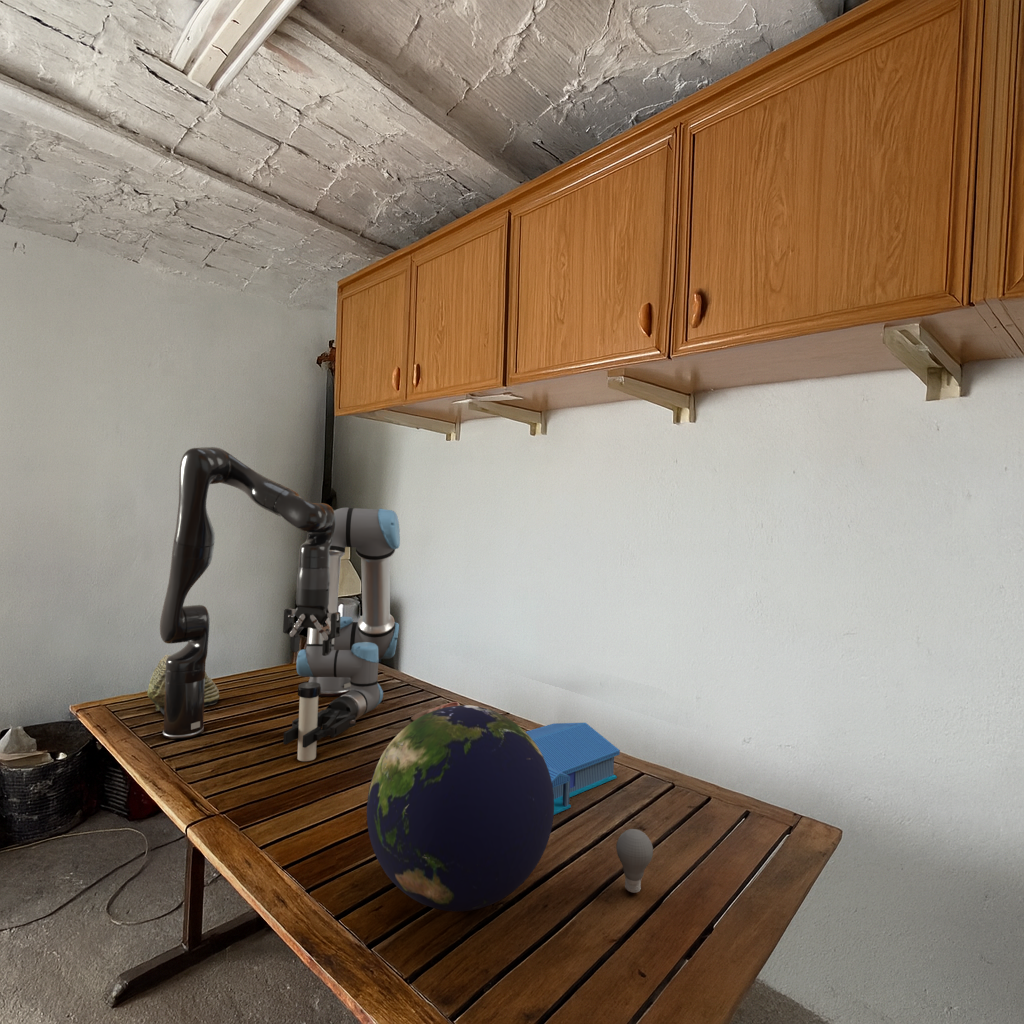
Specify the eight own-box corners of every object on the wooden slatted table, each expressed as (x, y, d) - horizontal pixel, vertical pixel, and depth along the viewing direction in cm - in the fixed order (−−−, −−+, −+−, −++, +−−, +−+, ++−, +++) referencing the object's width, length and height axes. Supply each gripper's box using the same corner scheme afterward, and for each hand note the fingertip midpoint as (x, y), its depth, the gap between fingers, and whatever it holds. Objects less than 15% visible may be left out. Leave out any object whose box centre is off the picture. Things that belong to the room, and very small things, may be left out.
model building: (501, 837, 120) (504, 785, 120) (427, 790, 139) (429, 744, 138) (628, 782, 147) (630, 739, 147) (552, 748, 165) (553, 710, 165)
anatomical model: (407, 708, 179) (421, 696, 191) (406, 722, 179) (420, 709, 191) (452, 713, 177) (463, 701, 188) (451, 727, 177) (463, 714, 188)
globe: (322, 922, 94) (330, 722, 94) (423, 829, 122) (430, 674, 122) (507, 988, 83) (517, 762, 83) (572, 869, 111) (580, 699, 110)
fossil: (144, 707, 182) (145, 655, 182) (212, 696, 194) (213, 647, 194) (151, 716, 175) (153, 662, 175) (221, 703, 188) (223, 653, 188)
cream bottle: (295, 761, 151) (298, 689, 150) (298, 754, 155) (301, 684, 155) (314, 761, 151) (317, 689, 151) (317, 753, 156) (320, 684, 155)
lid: (295, 698, 150) (296, 688, 150) (299, 691, 155) (299, 682, 155) (318, 697, 151) (319, 688, 151) (321, 691, 156) (322, 682, 156)
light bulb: (610, 879, 108) (613, 822, 108) (644, 879, 109) (647, 822, 109) (619, 902, 102) (622, 840, 102) (655, 901, 103) (658, 840, 103)
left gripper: (277, 585, 150) (275, 654, 151) (332, 590, 147) (329, 660, 147) (295, 581, 158) (292, 647, 158) (347, 586, 154) (345, 652, 155)
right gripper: (374, 727, 168) (327, 761, 146) (316, 718, 173) (261, 750, 150) (376, 699, 168) (328, 729, 145) (317, 691, 173) (262, 719, 150)
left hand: (310, 653), depth 153 cm, fingers open, 7 cm apart
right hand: (294, 740), depth 148 cm, fingers closed on cream bottle, 4 cm apart
